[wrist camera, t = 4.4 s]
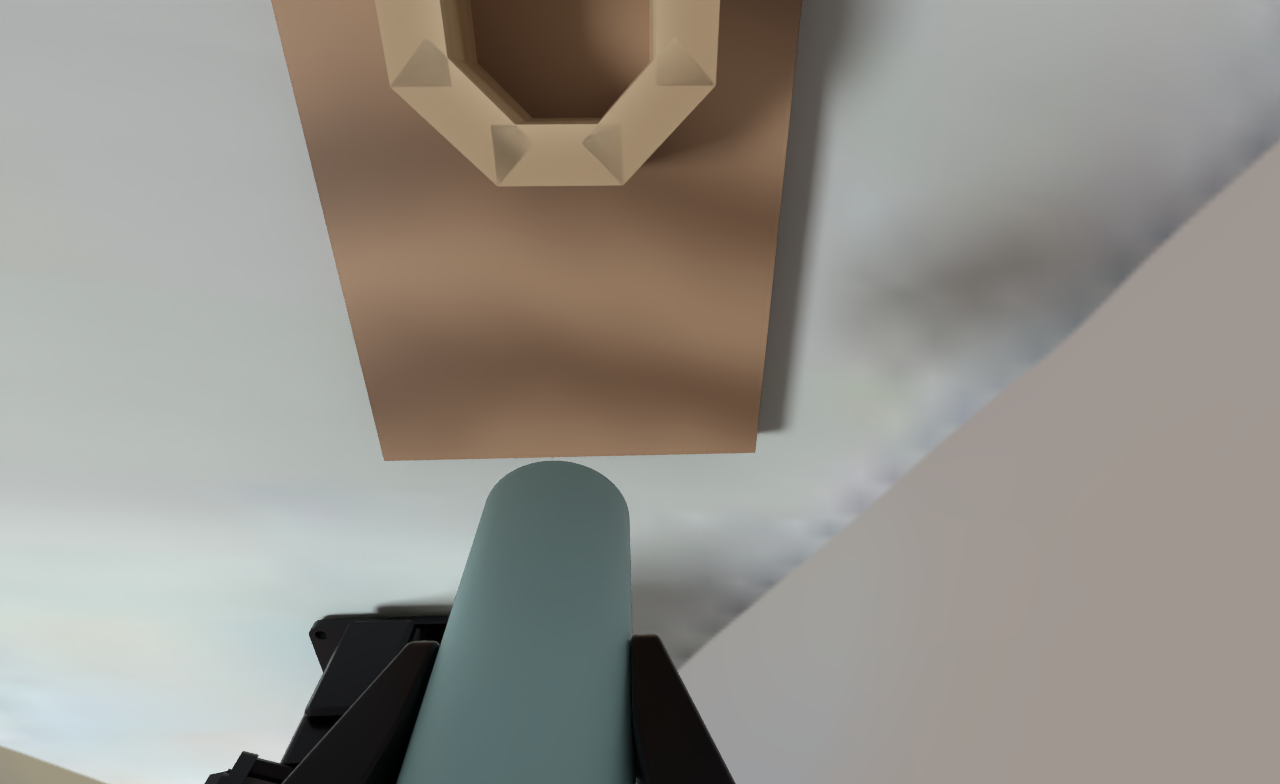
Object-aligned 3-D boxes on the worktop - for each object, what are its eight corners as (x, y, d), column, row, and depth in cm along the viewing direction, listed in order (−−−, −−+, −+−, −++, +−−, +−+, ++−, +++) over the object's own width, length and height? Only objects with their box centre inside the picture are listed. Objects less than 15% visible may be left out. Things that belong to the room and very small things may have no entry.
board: (748, 434, 22) (754, 452, 21) (395, 442, 22) (384, 460, 20) (812, -230, 14) (828, -256, 13) (239, -236, 13) (206, -264, 12)
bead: (695, 168, 16) (710, 184, 14) (442, 170, 16) (408, 187, 14) (708, -165, 13) (731, -228, 10) (391, -166, 13) (333, -232, 10)
